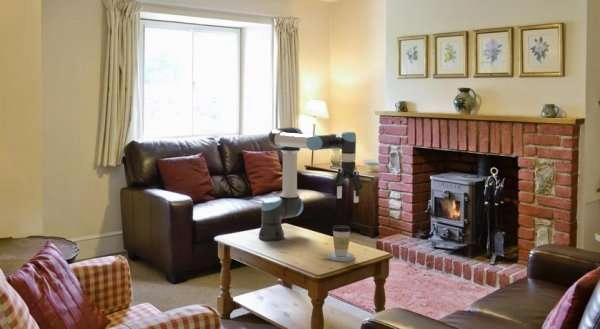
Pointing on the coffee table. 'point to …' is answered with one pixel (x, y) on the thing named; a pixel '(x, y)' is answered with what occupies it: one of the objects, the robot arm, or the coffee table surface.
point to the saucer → (340, 257)
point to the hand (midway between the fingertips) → (347, 200)
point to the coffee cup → (341, 239)
